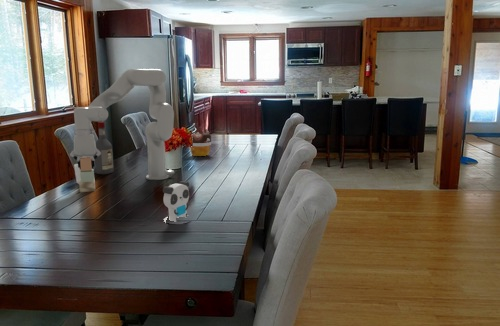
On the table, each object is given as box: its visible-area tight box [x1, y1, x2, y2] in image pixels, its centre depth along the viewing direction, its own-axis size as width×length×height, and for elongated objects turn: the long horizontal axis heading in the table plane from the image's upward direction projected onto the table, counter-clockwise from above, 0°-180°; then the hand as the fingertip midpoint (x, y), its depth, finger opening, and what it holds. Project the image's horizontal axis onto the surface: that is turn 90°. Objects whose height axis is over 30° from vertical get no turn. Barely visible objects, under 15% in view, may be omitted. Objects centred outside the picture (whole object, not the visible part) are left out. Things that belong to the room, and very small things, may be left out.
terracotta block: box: [80, 156, 92, 171], centre depth 210 cm, size 5×5×6 cm
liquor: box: [94, 121, 114, 175], centre depth 247 cm, size 9×9×30 cm
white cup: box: [73, 163, 81, 185], centre depth 226 cm, size 8×8×10 cm
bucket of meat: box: [189, 126, 212, 157], centre depth 304 cm, size 20×16×20 cm
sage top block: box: [80, 168, 95, 182], centre depth 211 cm, size 6×6×5 cm
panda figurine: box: [162, 180, 190, 224], centre depth 167 cm, size 12×11×15 cm
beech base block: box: [78, 177, 96, 193], centre depth 212 cm, size 7×7×5 cm
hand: (86, 168), depth 210 cm, fingers closed on terracotta block, 5 cm apart
